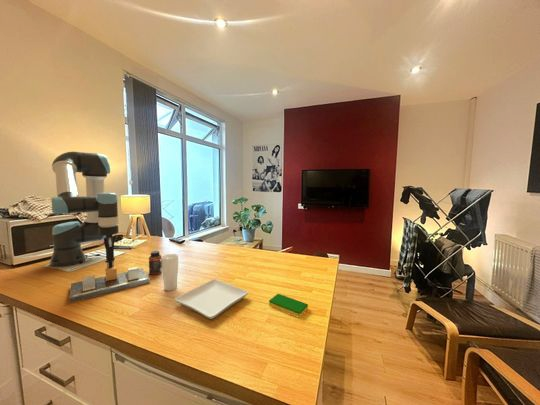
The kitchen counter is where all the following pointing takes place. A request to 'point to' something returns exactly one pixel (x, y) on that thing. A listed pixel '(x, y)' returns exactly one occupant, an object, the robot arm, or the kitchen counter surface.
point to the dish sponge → (288, 305)
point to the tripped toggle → (111, 273)
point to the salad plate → (211, 298)
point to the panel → (107, 284)
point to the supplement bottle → (155, 263)
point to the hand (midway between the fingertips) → (110, 274)
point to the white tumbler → (170, 271)
